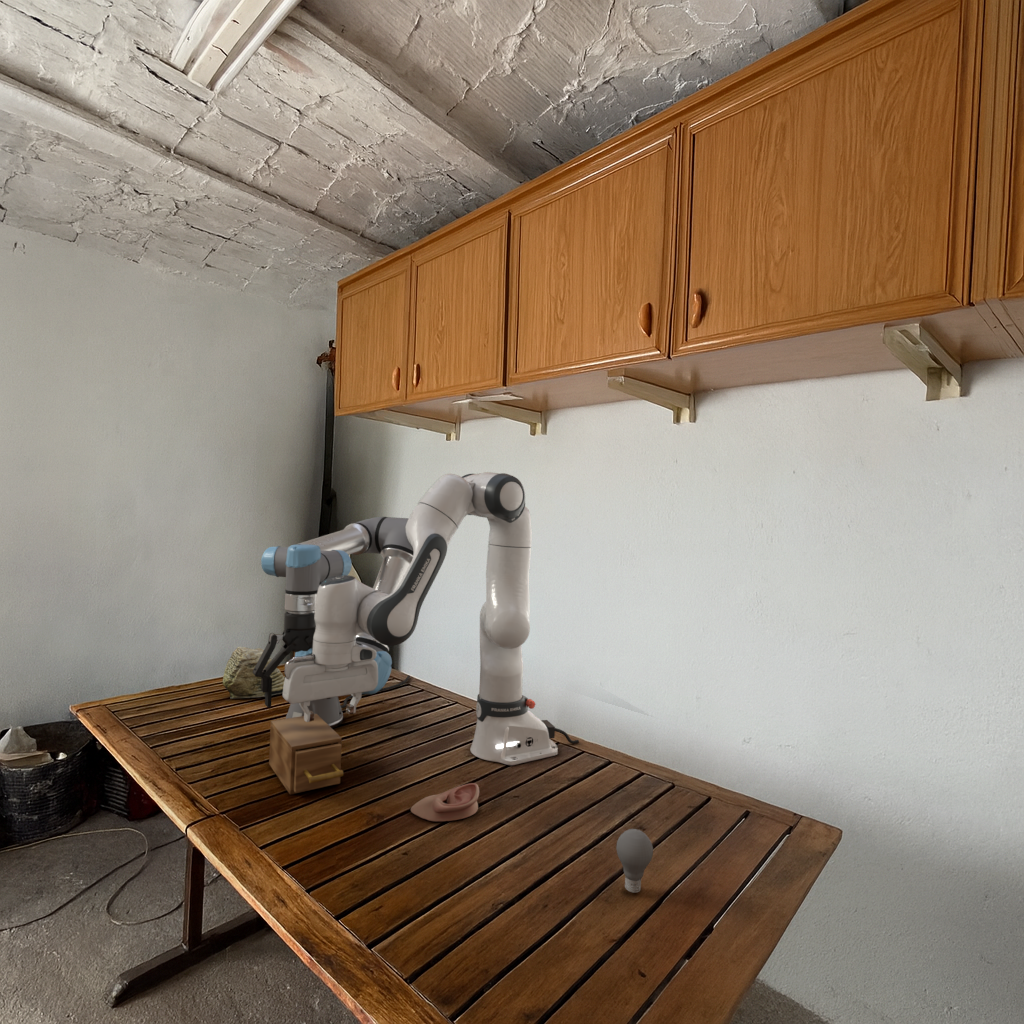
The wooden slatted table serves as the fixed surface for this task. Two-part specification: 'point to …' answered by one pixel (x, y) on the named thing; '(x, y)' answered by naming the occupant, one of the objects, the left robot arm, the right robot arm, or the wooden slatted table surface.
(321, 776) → the drawer
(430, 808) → the anatomical model
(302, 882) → the wooden slatted table surface
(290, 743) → the cabinet
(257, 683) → the fossil
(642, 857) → the light bulb
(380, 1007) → the wooden slatted table surface
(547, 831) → the wooden slatted table surface
